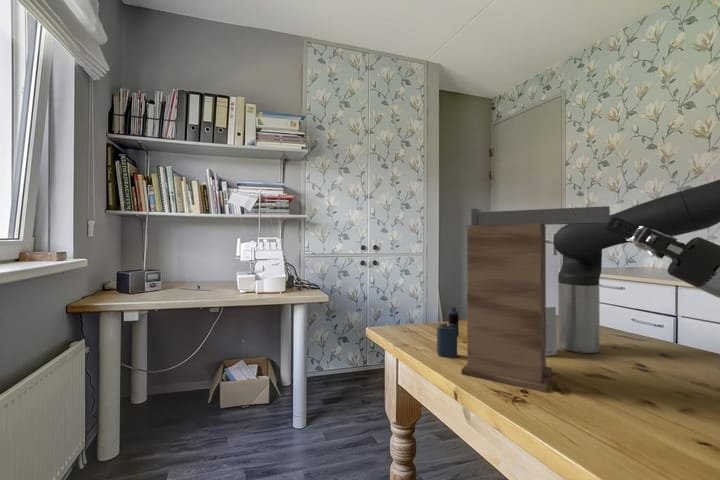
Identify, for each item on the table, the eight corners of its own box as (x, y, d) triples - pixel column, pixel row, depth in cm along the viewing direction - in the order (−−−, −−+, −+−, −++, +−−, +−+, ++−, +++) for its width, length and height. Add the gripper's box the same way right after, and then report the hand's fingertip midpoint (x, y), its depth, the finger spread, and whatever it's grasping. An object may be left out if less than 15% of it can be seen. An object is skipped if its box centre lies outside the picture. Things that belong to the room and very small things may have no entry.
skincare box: (558, 354, 86) (557, 306, 86) (544, 356, 84) (544, 307, 84) (537, 347, 92) (537, 302, 92) (524, 349, 90) (524, 303, 90)
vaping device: (459, 358, 83) (459, 309, 83) (437, 356, 84) (437, 308, 85) (458, 354, 86) (458, 307, 86) (437, 353, 87) (436, 306, 87)
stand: (476, 358, 83) (476, 227, 83) (551, 372, 74) (551, 225, 75) (461, 374, 73) (461, 225, 73) (545, 392, 64) (545, 223, 65)
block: (475, 226, 79) (475, 210, 79) (608, 223, 66) (608, 203, 66) (471, 225, 76) (471, 208, 76) (609, 222, 62) (609, 201, 62)
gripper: (716, 249, 61) (618, 207, 69) (748, 251, 49) (625, 201, 57) (688, 284, 63) (596, 240, 71) (711, 294, 51) (597, 239, 59)
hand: (609, 222), depth 64 cm, fingers open, 8 cm apart
